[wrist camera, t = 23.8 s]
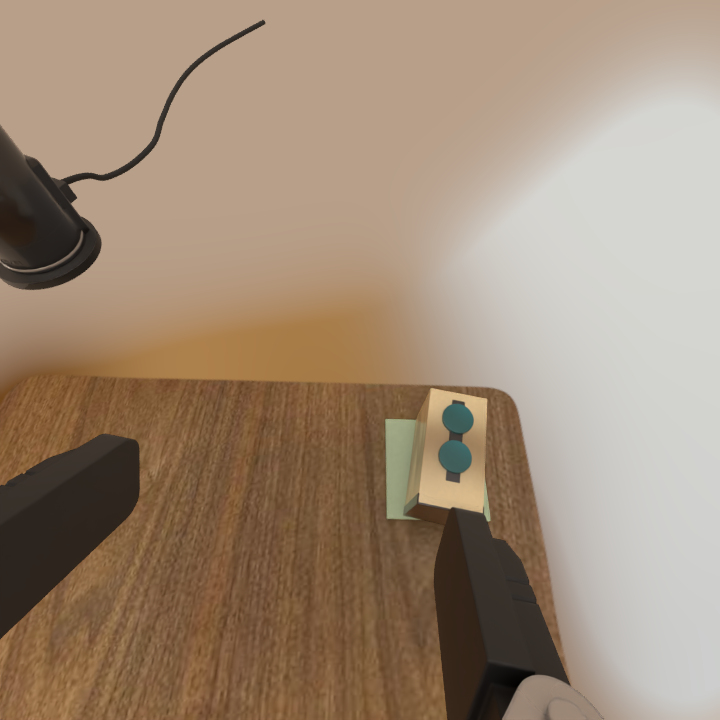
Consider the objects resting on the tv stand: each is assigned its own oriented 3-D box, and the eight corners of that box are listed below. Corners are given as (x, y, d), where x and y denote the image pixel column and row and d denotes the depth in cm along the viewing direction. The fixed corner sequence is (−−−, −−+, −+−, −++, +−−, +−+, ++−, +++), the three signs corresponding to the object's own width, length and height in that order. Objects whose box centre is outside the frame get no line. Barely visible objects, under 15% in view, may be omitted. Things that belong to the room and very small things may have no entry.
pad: (385, 420, 37) (385, 418, 36) (475, 423, 37) (477, 421, 37) (386, 519, 32) (387, 518, 32) (488, 521, 33) (491, 521, 32)
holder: (415, 417, 36) (431, 385, 30) (463, 427, 36) (489, 396, 30) (403, 515, 32) (417, 503, 26) (457, 527, 32) (486, 517, 25)
